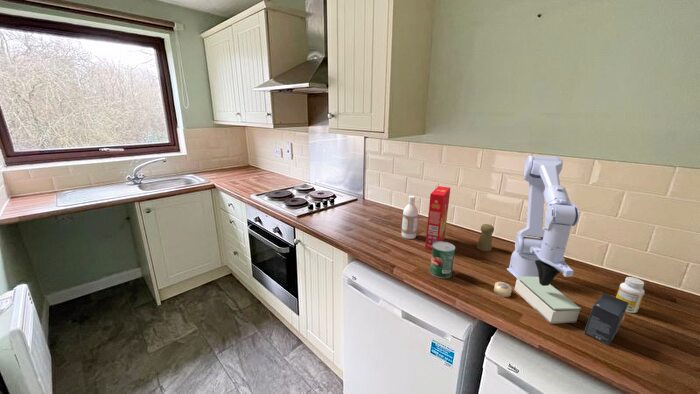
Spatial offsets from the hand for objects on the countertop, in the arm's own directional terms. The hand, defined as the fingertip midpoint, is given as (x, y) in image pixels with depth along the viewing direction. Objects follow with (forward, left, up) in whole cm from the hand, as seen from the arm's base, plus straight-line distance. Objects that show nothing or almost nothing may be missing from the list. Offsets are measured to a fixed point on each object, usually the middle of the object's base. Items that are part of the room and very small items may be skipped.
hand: (543, 284), depth 86 cm
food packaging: (-44, -17, -8) cm, 48 cm away
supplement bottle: (+3, +26, -8) cm, 27 cm away
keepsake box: (0, +1, -7) cm, 7 cm away
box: (+12, +9, -8) cm, 17 cm away
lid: (0, +1, -3) cm, 3 cm away
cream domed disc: (-7, -8, -7) cm, 13 cm away
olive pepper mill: (-38, +3, -8) cm, 39 cm away
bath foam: (-52, -27, -8) cm, 59 cm away
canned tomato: (-20, -24, -8) cm, 32 cm away
